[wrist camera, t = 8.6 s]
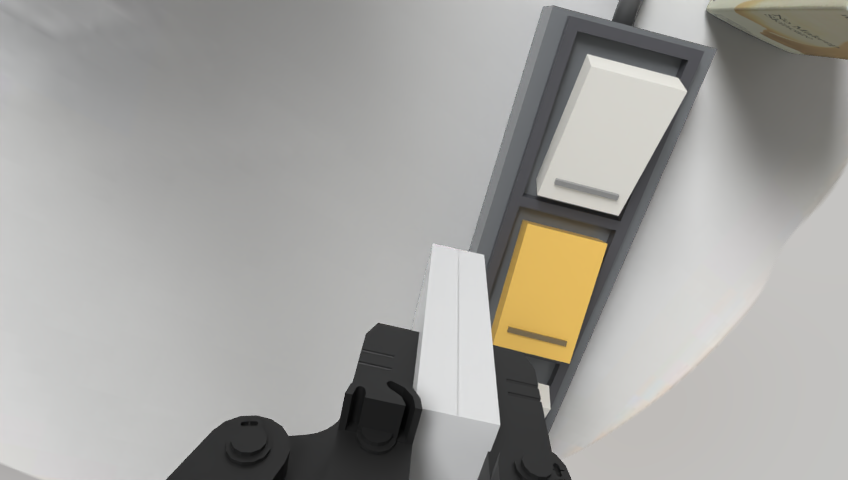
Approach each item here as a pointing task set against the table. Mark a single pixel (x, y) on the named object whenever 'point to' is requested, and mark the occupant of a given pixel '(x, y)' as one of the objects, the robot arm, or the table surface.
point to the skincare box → (791, 23)
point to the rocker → (608, 134)
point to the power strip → (529, 142)
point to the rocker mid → (547, 291)
